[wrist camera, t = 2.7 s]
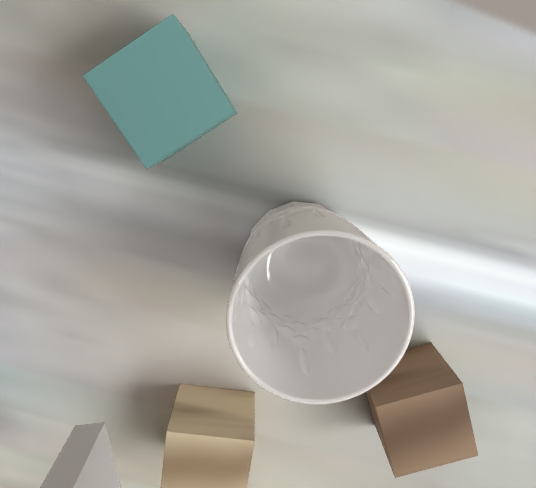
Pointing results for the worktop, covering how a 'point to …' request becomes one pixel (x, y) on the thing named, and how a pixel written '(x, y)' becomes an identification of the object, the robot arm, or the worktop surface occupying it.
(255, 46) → the worktop surface
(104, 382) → the worktop surface
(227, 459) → the maple block
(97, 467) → the robot arm
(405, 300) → the white cup
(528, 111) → the worktop surface
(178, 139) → the teal painted block
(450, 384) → the walnut block
